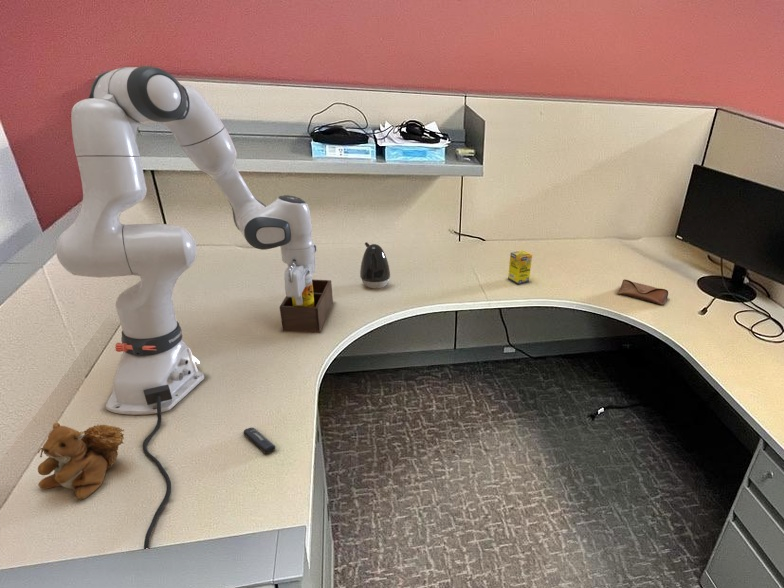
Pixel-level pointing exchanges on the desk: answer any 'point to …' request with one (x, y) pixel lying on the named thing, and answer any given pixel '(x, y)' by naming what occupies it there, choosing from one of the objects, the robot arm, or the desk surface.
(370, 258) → the black egg-shaped figure
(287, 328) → the box
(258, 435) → the usb stick
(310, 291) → the beer can
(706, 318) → the desk surface
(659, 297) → the sunglasses case
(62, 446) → the stuffed squirrel
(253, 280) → the desk surface
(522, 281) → the supplement box
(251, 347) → the desk surface
